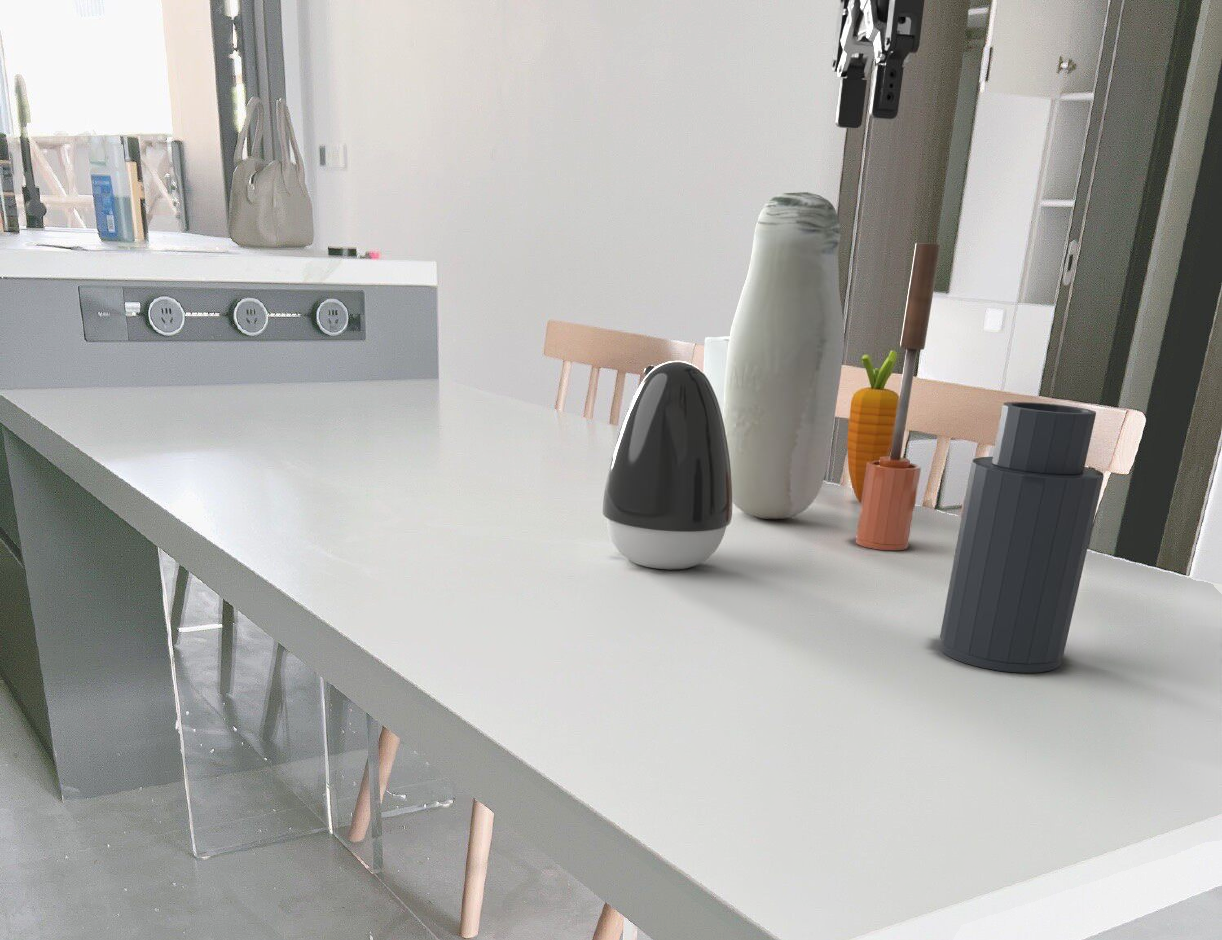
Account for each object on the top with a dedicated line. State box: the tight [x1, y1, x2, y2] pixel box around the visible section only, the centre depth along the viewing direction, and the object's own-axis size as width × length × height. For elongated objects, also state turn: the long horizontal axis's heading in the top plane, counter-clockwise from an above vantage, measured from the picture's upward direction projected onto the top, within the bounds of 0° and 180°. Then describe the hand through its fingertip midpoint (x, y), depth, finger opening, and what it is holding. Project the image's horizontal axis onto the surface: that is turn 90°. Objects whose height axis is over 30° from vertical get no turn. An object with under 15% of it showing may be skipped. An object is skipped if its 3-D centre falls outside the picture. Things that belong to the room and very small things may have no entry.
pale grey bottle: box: [723, 191, 845, 520], centre depth 112 cm, size 10×10×28 cm
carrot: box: [847, 350, 899, 504], centre depth 125 cm, size 5×5×15 cm
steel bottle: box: [938, 401, 1105, 674], centre depth 77 cm, size 8×8×16 cm
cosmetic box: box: [702, 335, 730, 418], centre depth 135 cm, size 8×6×15 cm
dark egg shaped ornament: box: [601, 360, 733, 570], centre depth 95 cm, size 10×10×15 cm
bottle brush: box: [879, 242, 942, 468], centre depth 104 cm, size 3×3×24 cm
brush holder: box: [855, 460, 922, 551], centre depth 108 cm, size 5×5×7 cm
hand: (864, 123), depth 104 cm, fingers open, 8 cm apart
